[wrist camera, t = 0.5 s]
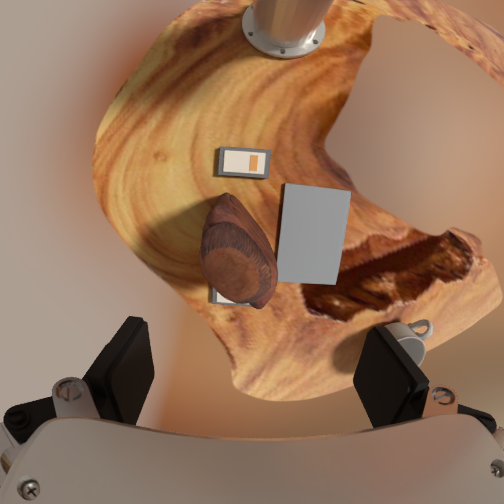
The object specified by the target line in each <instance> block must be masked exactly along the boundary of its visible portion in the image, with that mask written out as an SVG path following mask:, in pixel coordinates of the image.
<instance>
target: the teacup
mask: <svg viewBox="0 0 504 504" xmlns="http://www.w3.org/2000/svg"><path fill="white" fill-rule="evenodd" d="M421 326H427V327H428V329H427V331H426V332H424V333H423V334H419V333H417V332H414V330H415V329H416V328H418V327H421ZM383 327H386V328H387V329H388V330H389V331H390V332H391V333H392V335H393V336H394V337H395V338H396V340H397V341H398V342H399V343H400V344H401V346H402V347H403V348H404V349H405V351H406V352H407V353H408V354H409V356H410V357H411V358H412V359H413V361H414V362H415V363H416V364H417V366H418V367H419V366H420V365H421V363H422V361H423V359H424V357H425V352H426V348H425V344H424V342H423V341H422V340H425V339H427V338H429V337H430V336H431V334H432V332H433V325H432V323H431V322H430V321H428V320H419V321H417V322H415V323H412V324H411V323H410V324H408V325H406V324H403V323H391V324H388V325H385V326H383Z"/></svg>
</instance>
